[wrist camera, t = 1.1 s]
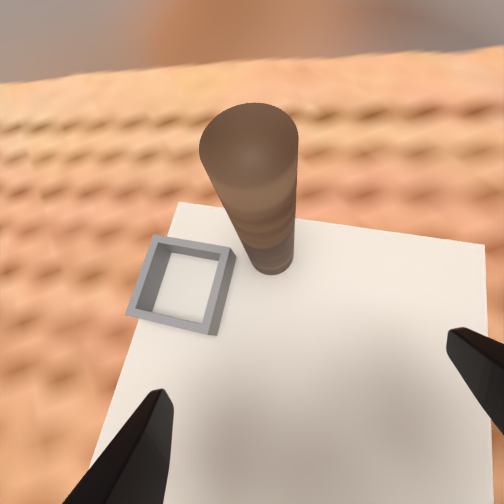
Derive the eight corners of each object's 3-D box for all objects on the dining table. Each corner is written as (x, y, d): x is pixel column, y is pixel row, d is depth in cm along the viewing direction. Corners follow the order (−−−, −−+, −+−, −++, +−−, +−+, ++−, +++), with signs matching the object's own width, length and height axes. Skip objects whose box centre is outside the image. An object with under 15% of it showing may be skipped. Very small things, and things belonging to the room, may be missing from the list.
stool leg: (289, 279, 21) (288, 191, 9) (245, 270, 21) (186, 179, 9) (296, 237, 22) (305, 105, 10) (255, 230, 22) (213, 100, 10)
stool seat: (474, 680, 14) (551, 822, 10) (88, 515, 19) (31, 564, 15) (467, 253, 21) (511, 231, 17) (186, 211, 26) (167, 186, 22)
